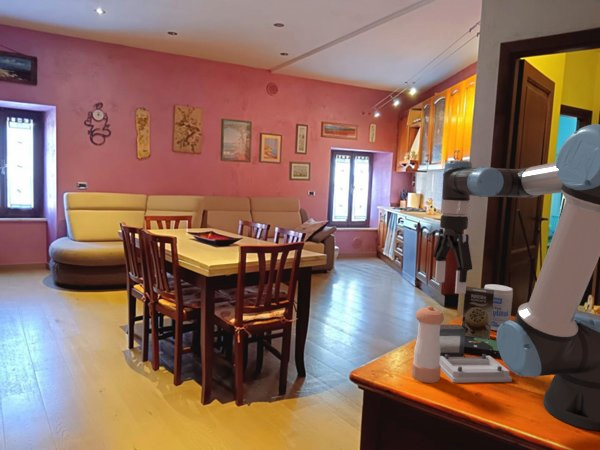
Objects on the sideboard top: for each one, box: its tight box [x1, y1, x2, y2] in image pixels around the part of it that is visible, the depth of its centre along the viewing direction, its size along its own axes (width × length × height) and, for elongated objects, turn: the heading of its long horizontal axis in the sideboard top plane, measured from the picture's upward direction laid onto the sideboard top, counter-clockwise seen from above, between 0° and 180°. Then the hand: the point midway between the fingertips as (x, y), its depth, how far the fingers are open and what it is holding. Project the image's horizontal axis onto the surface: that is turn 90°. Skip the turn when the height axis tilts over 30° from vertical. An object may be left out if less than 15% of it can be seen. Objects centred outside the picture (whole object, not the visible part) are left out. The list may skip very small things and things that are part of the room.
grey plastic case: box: [439, 324, 466, 357], centre depth 134 cm, size 4×10×9 cm, turn 96°
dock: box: [439, 354, 513, 384], centre depth 123 cm, size 12×16×3 cm
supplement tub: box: [483, 283, 514, 332], centre depth 161 cm, size 10×10×15 cm
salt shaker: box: [411, 305, 445, 384], centre depth 119 cm, size 7×7×19 cm
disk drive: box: [464, 336, 502, 359], centre depth 140 cm, size 10×3×15 cm
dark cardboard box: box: [461, 285, 494, 339], centre depth 151 cm, size 9×6×16 cm
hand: (449, 287), depth 133 cm, fingers open, 13 cm apart
